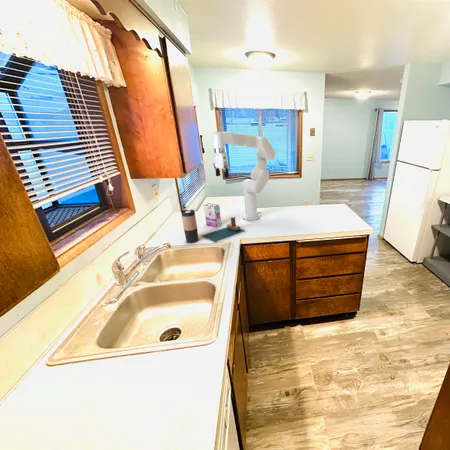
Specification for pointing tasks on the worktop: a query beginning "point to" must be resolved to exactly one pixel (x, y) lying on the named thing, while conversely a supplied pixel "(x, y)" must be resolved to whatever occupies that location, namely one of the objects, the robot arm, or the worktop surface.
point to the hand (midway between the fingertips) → (222, 176)
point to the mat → (221, 234)
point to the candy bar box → (212, 214)
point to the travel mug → (190, 226)
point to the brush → (233, 225)
